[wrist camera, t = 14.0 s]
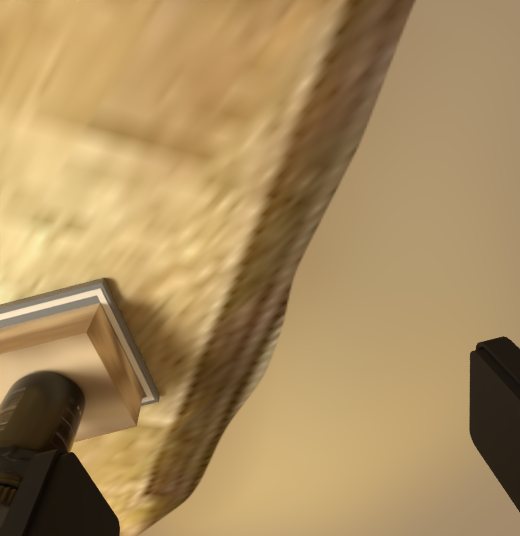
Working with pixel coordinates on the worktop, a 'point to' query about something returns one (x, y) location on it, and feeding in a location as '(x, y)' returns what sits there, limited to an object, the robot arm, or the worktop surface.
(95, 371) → the oak plinth
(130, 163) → the worktop surface
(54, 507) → the robot arm
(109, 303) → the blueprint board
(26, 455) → the supplement bottle
